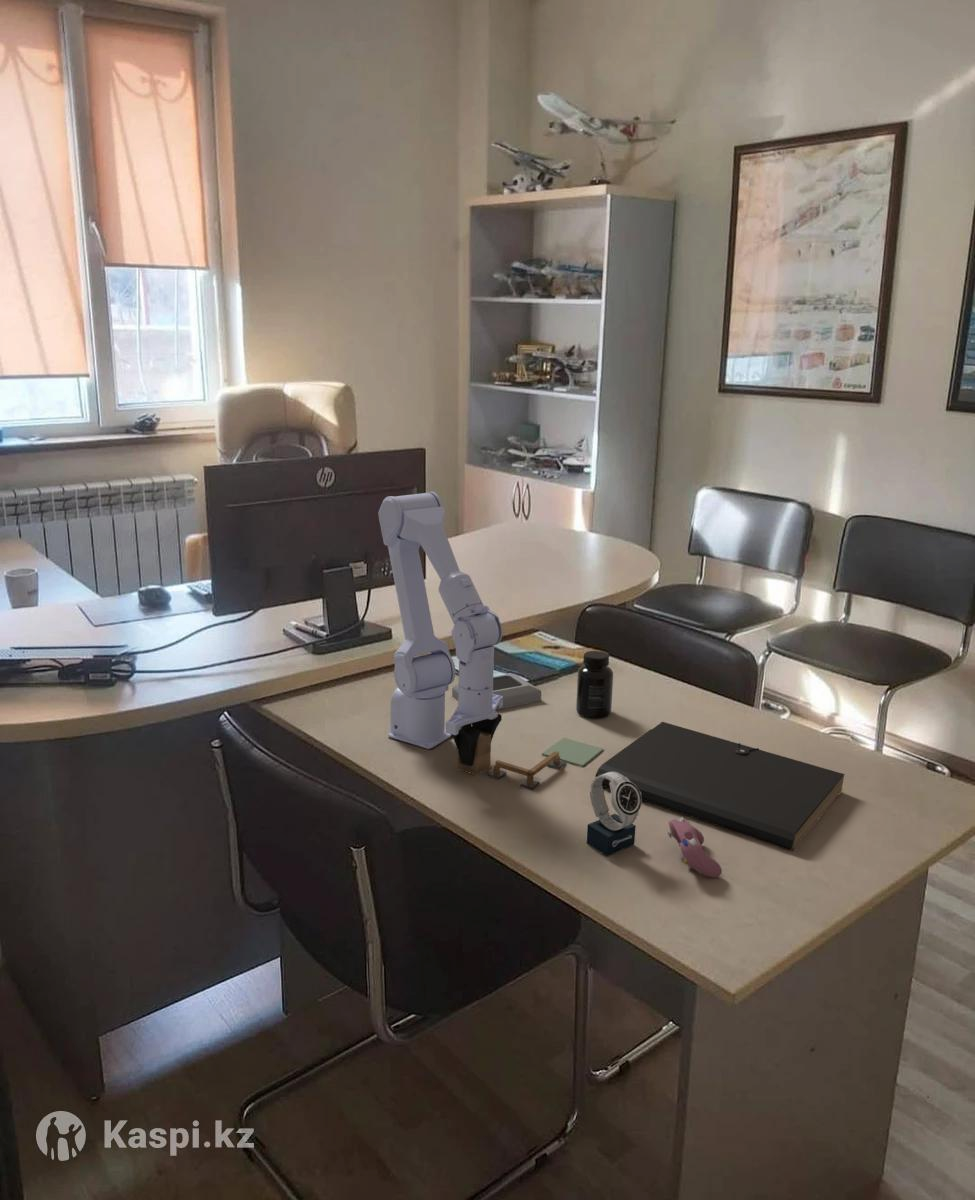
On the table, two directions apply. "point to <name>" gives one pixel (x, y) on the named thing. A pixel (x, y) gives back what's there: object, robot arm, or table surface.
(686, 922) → the table surface
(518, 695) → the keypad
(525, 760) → the table surface
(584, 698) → the supplement bottle
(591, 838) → the watch
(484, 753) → the block
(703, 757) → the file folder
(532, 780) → the brown angled rail
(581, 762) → the mat
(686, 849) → the pink curved piece
